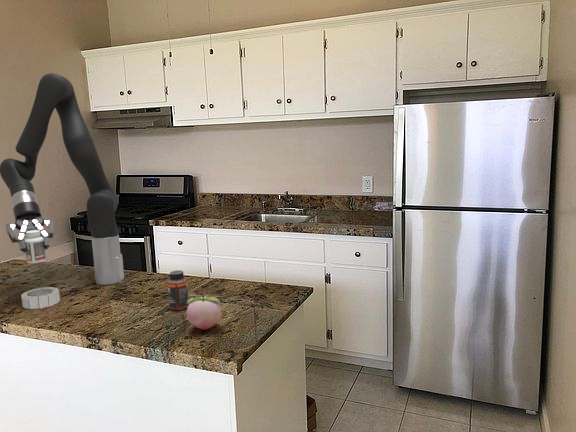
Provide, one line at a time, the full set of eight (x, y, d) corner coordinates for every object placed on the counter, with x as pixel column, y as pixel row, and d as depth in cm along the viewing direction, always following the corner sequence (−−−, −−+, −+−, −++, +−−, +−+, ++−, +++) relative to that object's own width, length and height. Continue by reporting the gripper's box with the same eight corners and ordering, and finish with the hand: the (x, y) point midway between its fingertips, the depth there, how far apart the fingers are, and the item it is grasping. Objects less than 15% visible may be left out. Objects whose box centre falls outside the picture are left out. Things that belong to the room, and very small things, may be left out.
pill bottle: (47, 258, 150) (43, 228, 148) (44, 262, 145) (41, 232, 143) (28, 260, 148) (24, 230, 147) (25, 264, 143) (21, 233, 142)
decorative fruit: (222, 322, 130) (220, 287, 128) (222, 334, 122) (220, 297, 120) (188, 324, 128) (186, 290, 127) (185, 336, 120) (183, 300, 119)
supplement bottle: (192, 305, 144) (190, 269, 142) (182, 312, 138) (180, 275, 136) (176, 303, 145) (173, 268, 144) (165, 310, 140) (162, 274, 138)
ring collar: (64, 296, 154) (63, 286, 154) (52, 307, 144) (50, 297, 144) (31, 298, 153) (30, 288, 153) (16, 309, 143) (15, 299, 142)
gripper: (0, 202, 145) (9, 246, 138) (50, 198, 154) (61, 239, 146) (0, 217, 150) (9, 260, 143) (49, 212, 159) (60, 252, 151)
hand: (35, 249), depth 144 cm, fingers closed on pill bottle, 5 cm apart
